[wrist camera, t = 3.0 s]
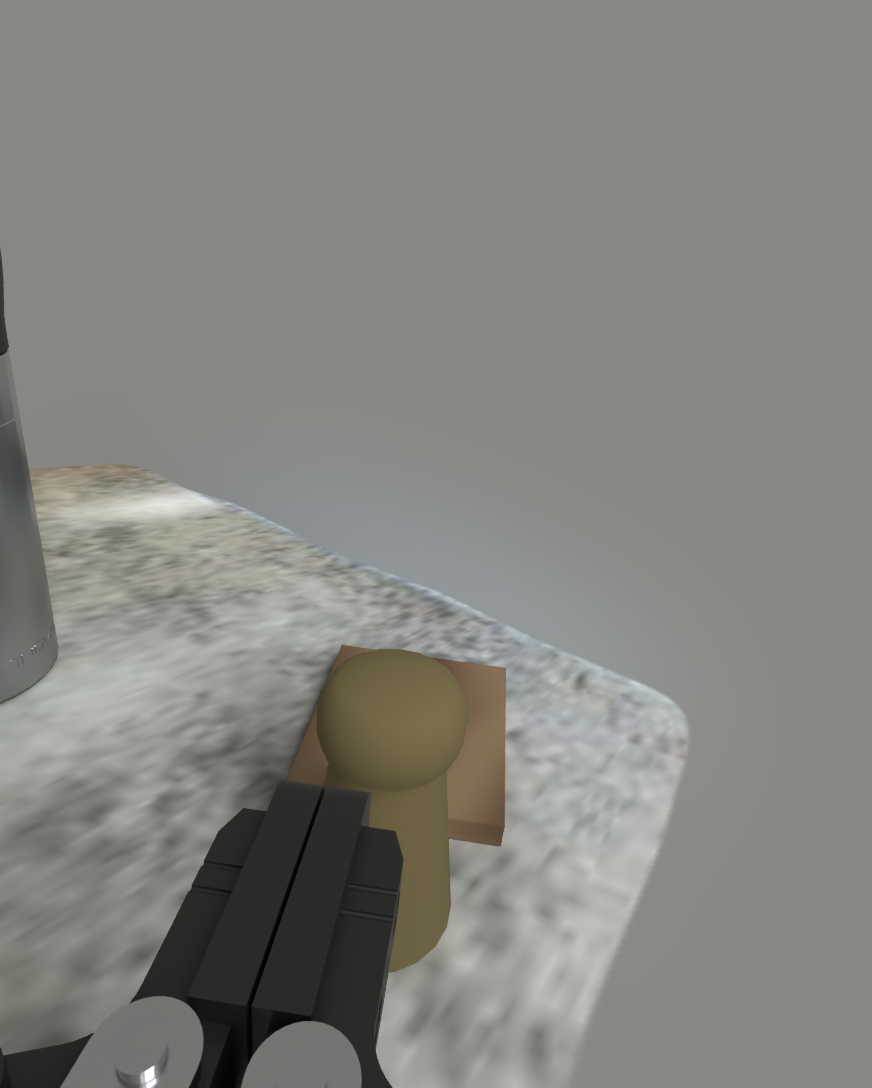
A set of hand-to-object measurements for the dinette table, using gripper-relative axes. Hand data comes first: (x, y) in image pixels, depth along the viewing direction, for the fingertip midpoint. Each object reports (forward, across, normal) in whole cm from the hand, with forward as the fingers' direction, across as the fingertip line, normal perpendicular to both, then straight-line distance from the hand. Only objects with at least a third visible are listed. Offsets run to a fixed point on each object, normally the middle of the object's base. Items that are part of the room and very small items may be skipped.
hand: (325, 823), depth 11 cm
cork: (+10, 0, +15) cm, 19 cm away
